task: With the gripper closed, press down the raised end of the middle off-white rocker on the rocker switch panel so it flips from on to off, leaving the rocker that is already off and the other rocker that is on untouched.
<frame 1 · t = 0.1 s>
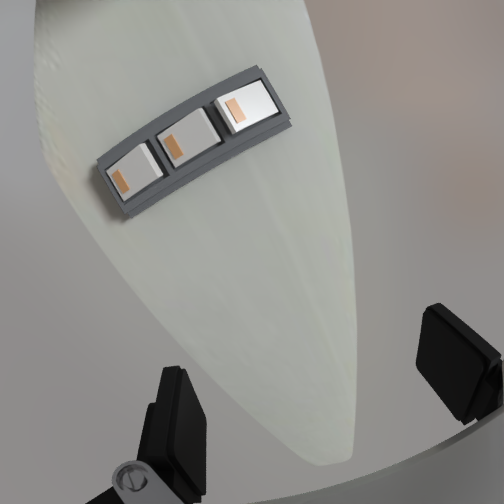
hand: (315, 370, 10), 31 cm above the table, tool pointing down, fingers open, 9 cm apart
rocker middle: (187, 138, 32), point 5 cm above the table, hinge at 20.0°
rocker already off: (247, 106, 31), point 5 cm above the table, hinge at -20.0°
rocker switch panel: (192, 139, 36), on the table
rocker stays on: (133, 172, 32), point 5 cm above the table, hinge at 20.0°
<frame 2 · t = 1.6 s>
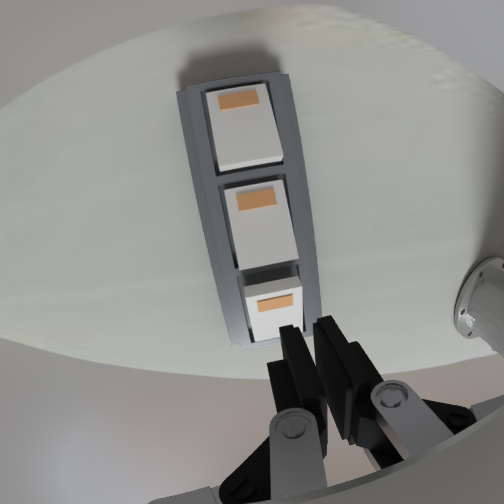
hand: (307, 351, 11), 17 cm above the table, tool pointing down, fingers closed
rocker middle: (260, 224, 23), point 5 cm above the table, hinge at 20.0°
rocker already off: (275, 312, 25), point 5 cm above the table, hinge at -20.0°
rocker switch panel: (254, 213, 27), on the table
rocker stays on: (243, 124, 20), point 5 cm above the table, hinge at 20.0°
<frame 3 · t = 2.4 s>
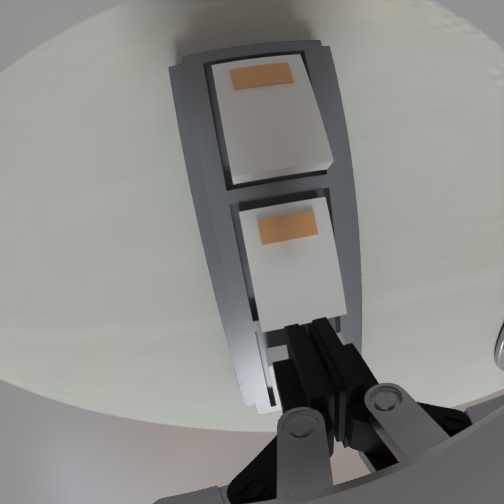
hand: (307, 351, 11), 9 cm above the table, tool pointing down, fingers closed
rocker middle: (293, 264, 15), point 5 cm above the table, hinge at 20.0°
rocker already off: (306, 375, 18), point 5 cm above the table, hinge at -20.0°
rocker switch panel: (279, 240, 20), on the table
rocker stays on: (268, 112, 13), point 5 cm above the table, hinge at 20.0°
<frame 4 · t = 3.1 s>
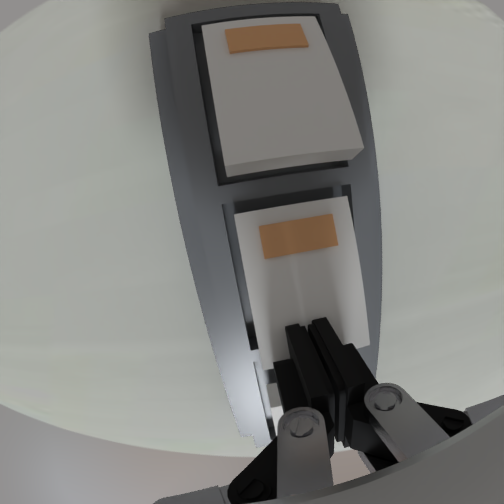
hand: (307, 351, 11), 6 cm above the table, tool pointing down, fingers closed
rocker middle: (304, 282, 12), point 5 cm above the table, hinge at 19.0°, touching gripper
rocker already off: (314, 409, 14), point 5 cm above the table, hinge at -20.0°
rocker switch panel: (283, 248, 16), on the table
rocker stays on: (275, 82, 9), point 5 cm above the table, hinge at 20.0°
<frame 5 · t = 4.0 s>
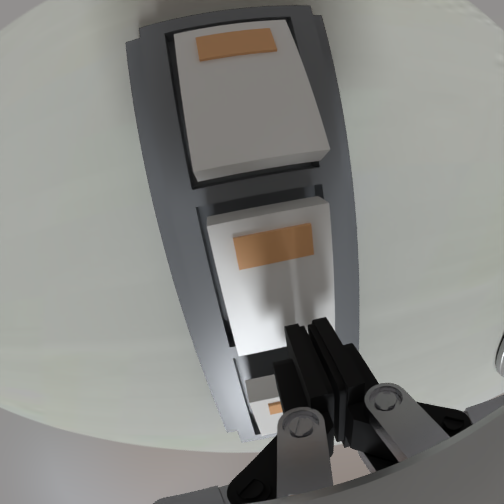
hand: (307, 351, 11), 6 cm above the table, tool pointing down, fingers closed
rocker middle: (277, 282, 12), point 5 cm above the table, hinge at -4.0°
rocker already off: (295, 405, 15), point 5 cm above the table, hinge at -20.0°
rocker switch panel: (261, 247, 16), on the table
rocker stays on: (244, 88, 10), point 5 cm above the table, hinge at 20.0°
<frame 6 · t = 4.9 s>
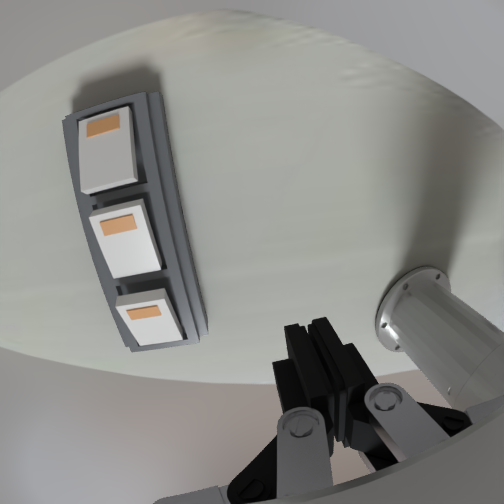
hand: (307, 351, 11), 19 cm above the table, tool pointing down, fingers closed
rocker middle: (126, 241, 23), point 5 cm above the table, hinge at -13.6°
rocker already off: (151, 320, 26), point 5 cm above the table, hinge at -19.9°
rocker switch panel: (137, 226, 27), on the table
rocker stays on: (106, 149, 20), point 5 cm above the table, hinge at 20.0°
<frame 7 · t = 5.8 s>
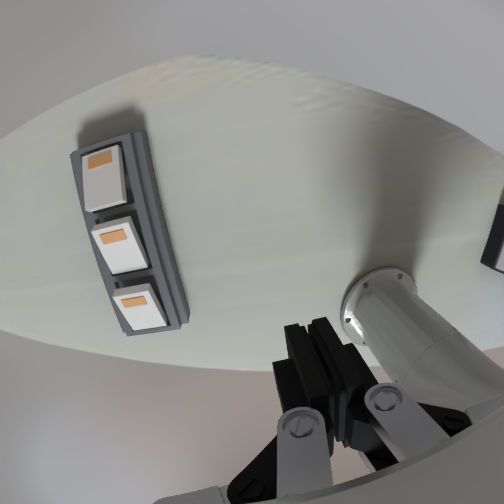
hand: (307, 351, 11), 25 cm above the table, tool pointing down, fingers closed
rocker middle: (120, 247, 30), point 5 cm above the table, hinge at -20.2°
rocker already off: (140, 308, 33), point 5 cm above the table, hinge at -19.9°
rocker switch panel: (132, 235, 34), on the table
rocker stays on: (102, 178, 28), point 5 cm above the table, hinge at 20.0°
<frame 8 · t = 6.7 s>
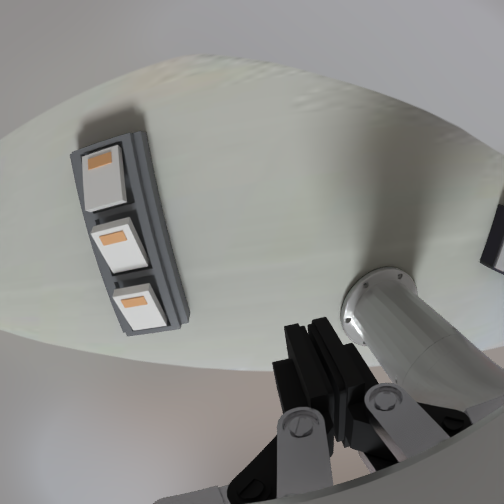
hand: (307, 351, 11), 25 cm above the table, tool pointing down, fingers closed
rocker middle: (120, 247, 30), point 5 cm above the table, hinge at -24.8°
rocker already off: (140, 308, 33), point 5 cm above the table, hinge at -19.8°
rocker switch panel: (132, 235, 34), on the table
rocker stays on: (102, 178, 28), point 5 cm above the table, hinge at 20.0°
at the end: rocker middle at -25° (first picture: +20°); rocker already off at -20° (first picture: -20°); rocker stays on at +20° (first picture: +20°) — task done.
